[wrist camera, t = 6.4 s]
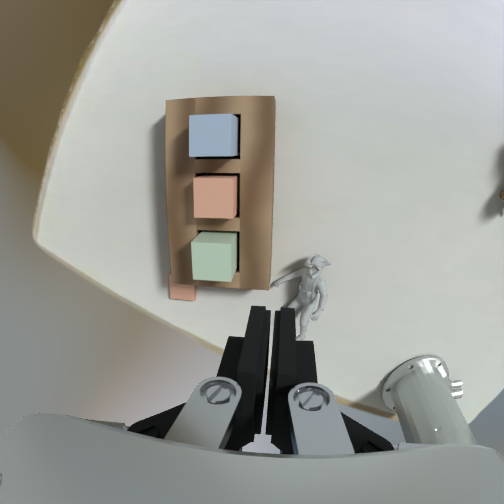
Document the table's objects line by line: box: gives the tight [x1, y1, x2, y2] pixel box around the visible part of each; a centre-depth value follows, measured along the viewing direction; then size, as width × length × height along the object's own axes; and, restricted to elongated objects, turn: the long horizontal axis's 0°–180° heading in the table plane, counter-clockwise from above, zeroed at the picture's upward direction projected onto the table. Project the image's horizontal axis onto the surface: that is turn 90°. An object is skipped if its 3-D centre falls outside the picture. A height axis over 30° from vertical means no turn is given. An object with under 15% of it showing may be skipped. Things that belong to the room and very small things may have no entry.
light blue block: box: [189, 114, 240, 157], centre depth 31 cm, size 4×4×6 cm
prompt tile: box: [168, 273, 196, 301], centre depth 42 cm, size 4×4×1 cm
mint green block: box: [191, 230, 239, 282], centre depth 35 cm, size 4×4×6 cm
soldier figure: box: [274, 254, 331, 341], centre depth 39 cm, size 8×5×12 cm
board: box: [165, 96, 275, 290], centre depth 36 cm, size 12×22×4 cm, turn 179°
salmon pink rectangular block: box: [193, 174, 240, 219], centre depth 34 cm, size 4×4×6 cm
